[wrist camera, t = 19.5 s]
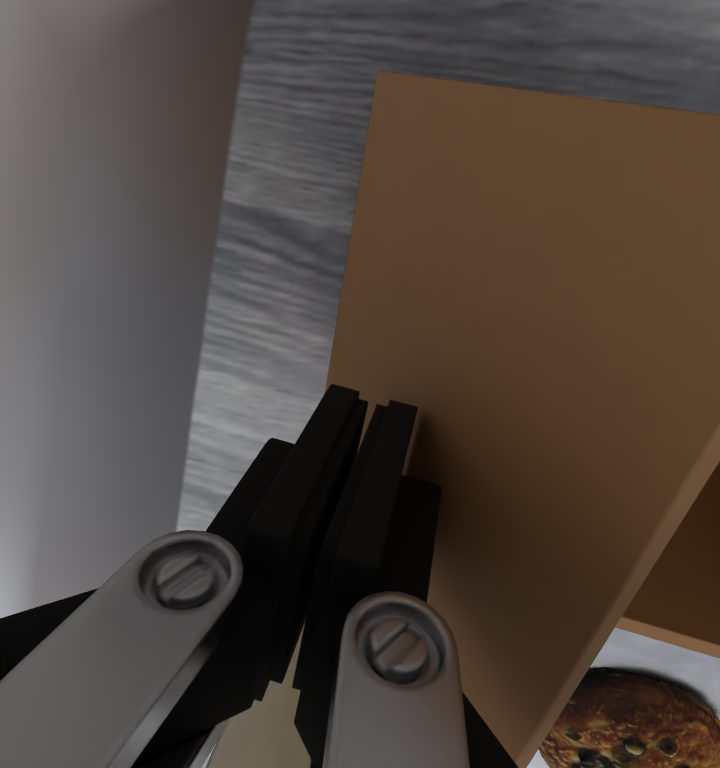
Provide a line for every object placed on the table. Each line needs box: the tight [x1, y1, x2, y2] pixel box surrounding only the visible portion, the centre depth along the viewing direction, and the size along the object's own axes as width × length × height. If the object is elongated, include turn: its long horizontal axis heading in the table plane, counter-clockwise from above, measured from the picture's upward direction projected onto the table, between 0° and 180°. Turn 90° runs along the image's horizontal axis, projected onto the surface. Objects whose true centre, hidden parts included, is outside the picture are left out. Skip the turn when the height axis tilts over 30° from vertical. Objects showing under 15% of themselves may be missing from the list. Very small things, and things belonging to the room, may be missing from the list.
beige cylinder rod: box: [206, 623, 310, 768], centre depth 23 cm, size 6×6×19 cm
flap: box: [325, 71, 720, 768], centre depth 10 cm, size 8×13×1 cm
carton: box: [394, 72, 720, 658], centre depth 18 cm, size 17×13×12 cm
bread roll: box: [538, 668, 720, 768], centre depth 33 cm, size 11×11×5 cm
